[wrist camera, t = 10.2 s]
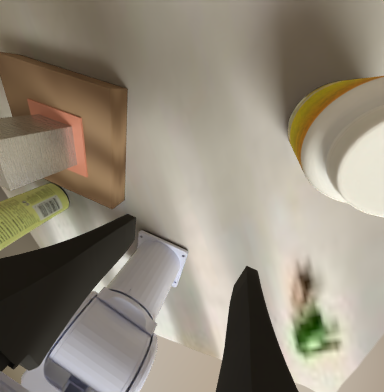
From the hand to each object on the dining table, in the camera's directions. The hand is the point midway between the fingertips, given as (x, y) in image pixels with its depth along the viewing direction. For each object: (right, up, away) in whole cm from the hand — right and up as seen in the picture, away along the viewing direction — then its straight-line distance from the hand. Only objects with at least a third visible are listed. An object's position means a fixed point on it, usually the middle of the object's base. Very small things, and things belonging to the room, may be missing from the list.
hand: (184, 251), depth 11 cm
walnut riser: (-14, +11, +12) cm, 21 cm away
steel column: (-15, +10, +10) cm, 20 cm away
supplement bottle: (+11, +9, +3) cm, 15 cm away
